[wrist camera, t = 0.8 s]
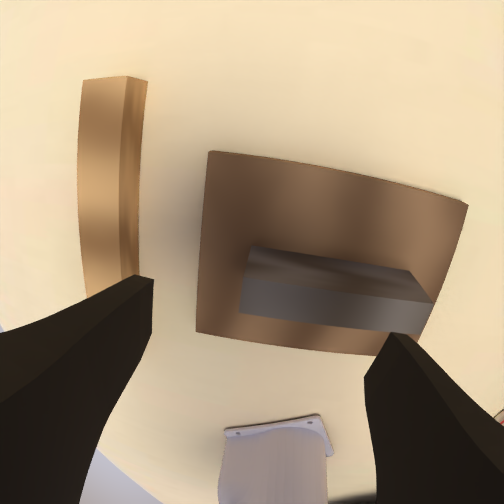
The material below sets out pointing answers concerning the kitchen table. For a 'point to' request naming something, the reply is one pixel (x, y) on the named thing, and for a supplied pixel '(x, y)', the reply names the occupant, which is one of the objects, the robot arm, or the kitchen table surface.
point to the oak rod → (109, 178)
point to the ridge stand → (319, 255)
